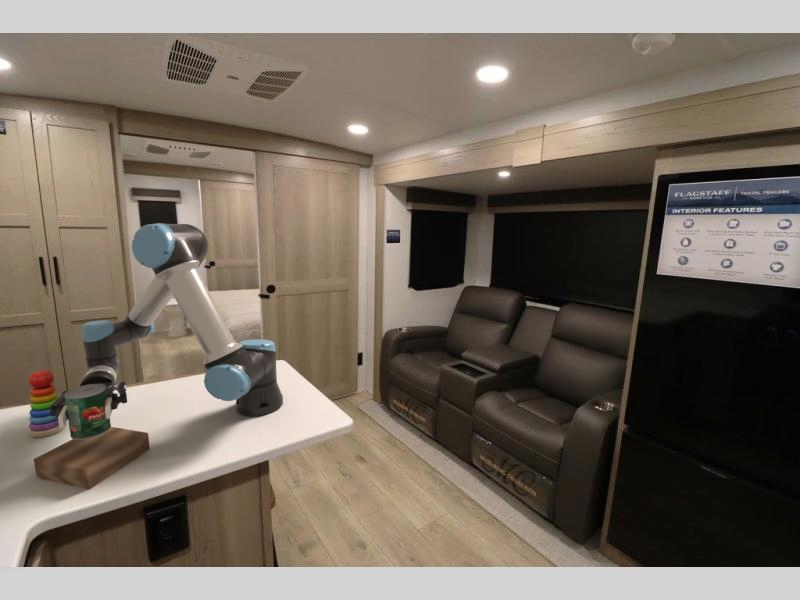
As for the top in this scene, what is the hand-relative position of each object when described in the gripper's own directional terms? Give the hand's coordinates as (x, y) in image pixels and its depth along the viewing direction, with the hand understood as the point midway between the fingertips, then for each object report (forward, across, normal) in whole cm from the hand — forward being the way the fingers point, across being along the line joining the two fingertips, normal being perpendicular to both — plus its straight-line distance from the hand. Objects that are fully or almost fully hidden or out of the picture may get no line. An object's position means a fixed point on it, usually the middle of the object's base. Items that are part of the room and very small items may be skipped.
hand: (84, 417), depth 87 cm
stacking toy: (-30, +14, -15) cm, 37 cm away
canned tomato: (-5, 0, -6) cm, 8 cm away
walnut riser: (-5, 0, -15) cm, 16 cm away
